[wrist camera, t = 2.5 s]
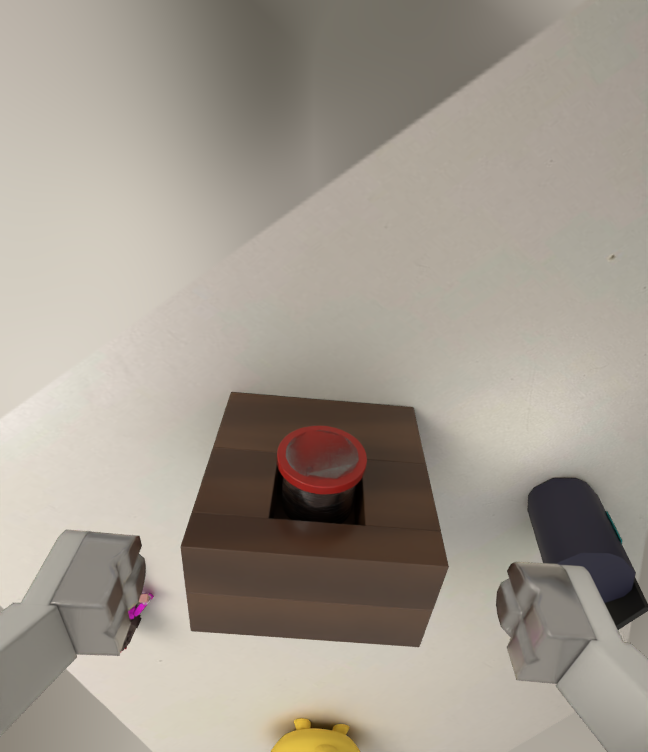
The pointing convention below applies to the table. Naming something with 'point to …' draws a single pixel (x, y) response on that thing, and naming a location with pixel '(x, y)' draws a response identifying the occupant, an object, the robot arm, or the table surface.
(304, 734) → the teapot
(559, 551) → the speaker
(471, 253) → the table surface
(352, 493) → the knob
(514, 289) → the table surface
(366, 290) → the table surface
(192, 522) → the control box
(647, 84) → the table surface
